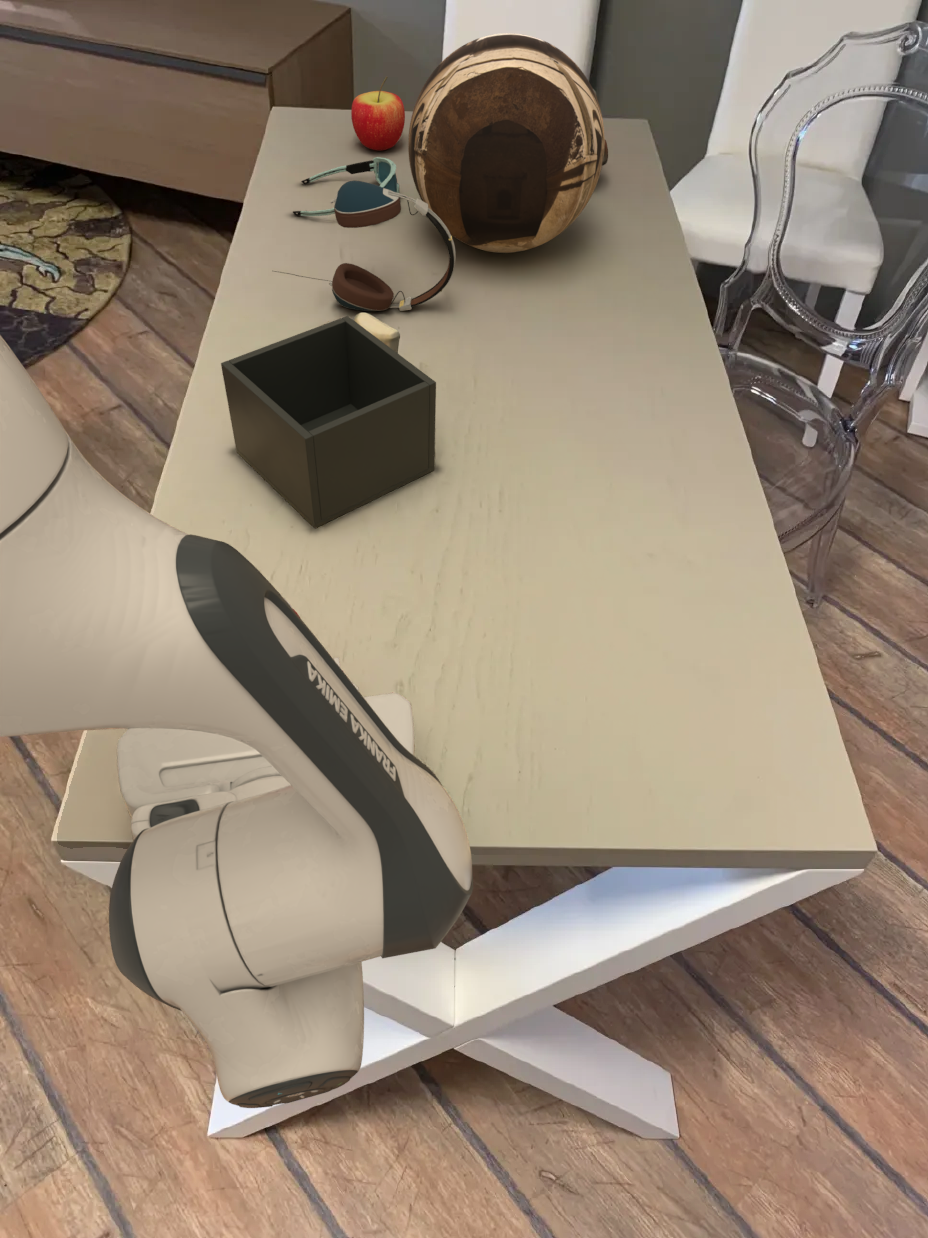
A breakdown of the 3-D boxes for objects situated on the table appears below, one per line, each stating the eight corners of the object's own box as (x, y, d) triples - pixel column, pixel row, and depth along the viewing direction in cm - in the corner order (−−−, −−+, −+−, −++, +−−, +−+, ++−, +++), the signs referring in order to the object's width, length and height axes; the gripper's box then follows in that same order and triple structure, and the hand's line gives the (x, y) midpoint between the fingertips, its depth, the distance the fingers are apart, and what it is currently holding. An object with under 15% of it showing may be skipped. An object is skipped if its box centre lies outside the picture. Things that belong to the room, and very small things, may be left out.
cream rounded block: (405, 377, 107) (404, 313, 102) (397, 404, 104) (396, 339, 98) (355, 372, 108) (351, 308, 102) (346, 398, 104) (342, 334, 98)
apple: (416, 150, 149) (416, 81, 142) (370, 162, 146) (368, 92, 138) (387, 132, 154) (385, 65, 146) (342, 143, 150) (338, 74, 143)
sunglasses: (398, 225, 132) (393, 189, 128) (294, 235, 133) (286, 199, 129) (403, 181, 141) (398, 147, 138) (306, 190, 142) (298, 156, 139)
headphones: (266, 307, 114) (446, 331, 116) (264, 181, 103) (463, 210, 105) (274, 282, 119) (448, 305, 120) (273, 158, 107) (464, 187, 109)
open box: (314, 528, 90) (305, 439, 82) (236, 452, 97) (220, 362, 89) (434, 470, 97) (436, 382, 89) (352, 402, 104) (347, 315, 96)
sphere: (399, 281, 122) (396, 68, 103) (418, 196, 139) (418, -1, 120) (592, 294, 121) (624, 83, 103) (587, 207, 138) (614, 12, 120)
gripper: (436, 786, 60) (404, 626, 69) (104, 834, 57) (115, 660, 66) (434, 835, 65) (404, 679, 74) (127, 882, 62) (135, 713, 71)
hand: (265, 670), depth 70 cm, fingers open, 8 cm apart
